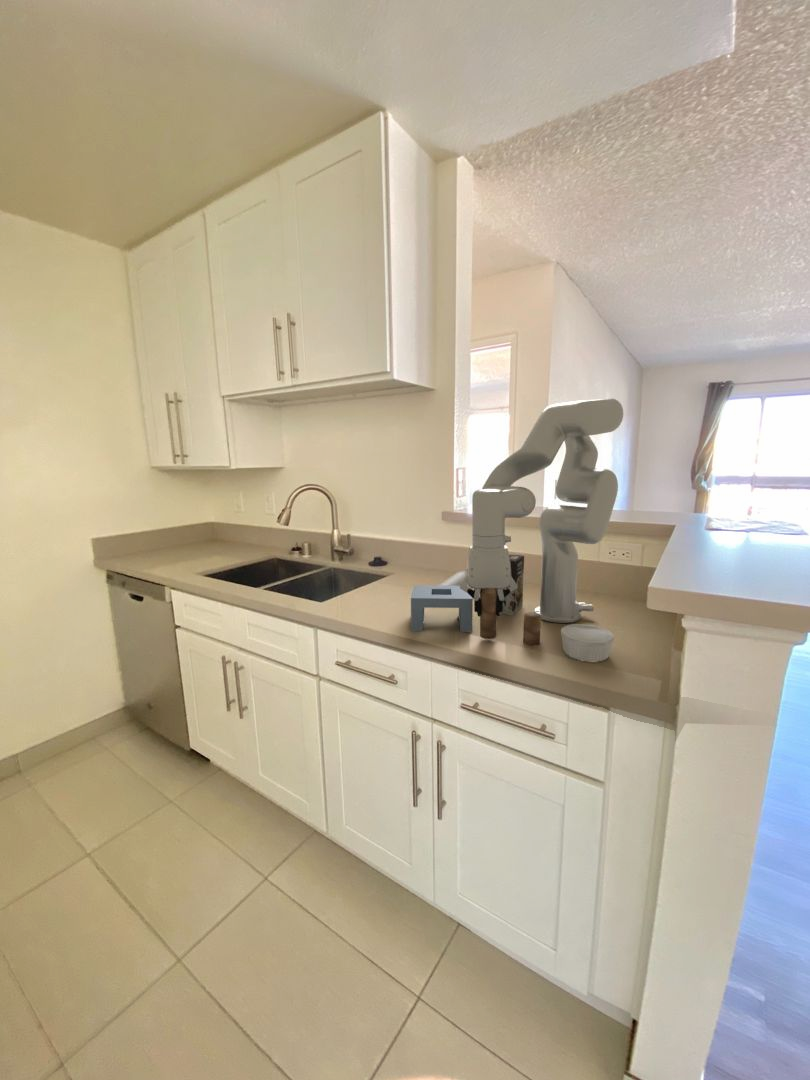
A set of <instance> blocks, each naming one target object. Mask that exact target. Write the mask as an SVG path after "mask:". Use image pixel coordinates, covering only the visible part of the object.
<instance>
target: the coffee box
mask: <svg viewBox="0 0 810 1080" xmlns="http://www.w3.org/2000/svg"><path fill="white" fill-rule="evenodd" d="M509 562H510V575H511V577H512V578H513V580H514V581H515V583H516V584H517V586H518V588H517V589H515V590H514V591H512V592H510V593H509V594H508V595H507V596H506V597H505V598H504V600H503V611H502V612H500V614H504V615H508V616H514V615H515V614H516V613H517V612H518V611H519V610H520V609H522V608H523V605H524V604H523V601H524V599H523V598H524V575H525V574H524V570H525V568H524V567H525V555H523V554H522V555H521V554H519V555H518V554H509ZM502 589H504V588H502ZM497 595H498V594H497Z"/></svg>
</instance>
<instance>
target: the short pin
mask: <svg viewBox="0 0 810 1080" xmlns="http://www.w3.org/2000/svg"><path fill="white" fill-rule="evenodd" d="M541 625H542V619H541V615H540V614H538V613H534V611H533V612H532V611H528V612H524V614H523V630H522V632H523V635H522V641H523V644H525V645H528V646H533V647H534V646H535V645H536V646H539V645H540V644H541V628H542V627H541ZM536 646H535V647H536Z"/></svg>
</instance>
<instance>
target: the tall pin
mask: <svg viewBox="0 0 810 1080" xmlns="http://www.w3.org/2000/svg"><path fill="white" fill-rule="evenodd" d="M479 597H480V600H481V616H479V637H480V638H482V639H486V640H493V639H496V638H497V623H498V622H497V621H498V620H497V617H498V616H497V589H494V588H484V589H481V590H480V595H479Z"/></svg>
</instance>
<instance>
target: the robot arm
mask: <svg viewBox="0 0 810 1080" xmlns="http://www.w3.org/2000/svg"><path fill="white" fill-rule="evenodd" d="M623 419H624V408H623V405H622V404H621V402H620V401H619V400H617V399H616V398H612V397H609V398H602V399H588V400H587V399H586V400H576V401H569V402H561V403H555V404H551V405H549V406H547V407H545V409H543V410H542V412H541V414H540V415H539V416H538V418H537V420H536V422H535V423H534V425H533V427H532V429H531V430H530V432H529V434H528V436H527V437H526V439H525V441H524V442H523V444H522V446H521V447H519V449H518V450H516V451H515V452H514V453H512V454H510V456H508V457H507V458H505V459H504V460H502V462H500V464H498V465H497V466H496V467H495V468H494V469H493V470H492V471H491V472H490V474H489V475H488V477H487V479H486V480H485V482H484V484H483V486H482V488H481V489H477V490H474V492H473V494H472V499H471V500H472V505H471V506H472V515H471V516H472V518H471V520H472V529H471V530H472V536H471V537H472V545H470V546H469V548H468V551H467V559H466V560H467V561H466V562H467V563H466V573H467V575H466V576H465V578H464V579H463V581H462V582H461V584H460V589H462V590H463V591H465V592H467V593H468V594H469V595H470V596H471V597H472V598H473V602H474V605H473V606H474V608H473V611H474V613H476V614H477V617H480V616H481V600H480V590H481V589H484V588H494V589H497V594H498V595H497V617H501V613H500V612H502V611H503V600H504V598H505V597H506V596H507V595H508V594H509V593H510V592H512V591H514V590H515V589H517V588H518V586H517V584H516V583H515V581H514V580H513V578H512V577H511V575H510V562H509V555H510V553H509V549H508V548H509V547H508V546H507V545H506V544H507V543H511V542H512V536H511V535H510V536H508V535H506V534H505V533H506V519H508V518H509V519H522V518H526V517H527V516H529V515H530V514H532V513H533V511H534V509H535V507H536V504H537V503H536V502H537V499H536V496H535V494H534V492H533V491H531V489H529V488H527V487H524V486H512V485H513V484H514V483H516V482H517V481H519V480H521V479H523V478H524V477H525V478H526V477H527V476H530V475H533V474H535V473H538V472H539V471H542V470H544V469H546V468H548V467H549V466H551V465H552V463H553V462H554V459H555V458H556V456H557V454H558V452H559V450H560V449H561V447H562V445H563V444H564V443H565V455H564V459H563V463H562V465H561V468H560V472H559V474H558V479H557V482H556V486H555V495H556V497H557V499H558V500H560V501H562V502H565V503H572V504H583V505H585V504H586V505H587V506H576V505H564V504H554V505H550V506H548V507H546V508H545V509H544V510H543V511H542V513H541V514H540V515H539V516H540V517H539V531H540V532H539V533H540V536H541V553H542V554H541V575H540V599H539V602H540V603H539V606H537V607H535V608H534V610H533V612H534V613H538V614H540V615H541V621H542V620H543V621H546V622H551V623H557V624H558V623H559V624H563V623H564V624H569V623H575V622H578V621H579V620H581V618H582V614H581V613H582V611H583V612H594V610H595V609H594V604H587V603H586V602H578V601H577V587H578V586H577V583H578V567H579V554H578V550H577V548H576V546H575V543H578V544H585V545H596V544H598V543H599V542H601V541H602V540H603V538H604V537H605V535H606V532H607V529H608V527H609V523H610V519H611V516H612V514H613V511H614V510H613V509H614V506H615V502H616V501H617V495H618V491H619V483H618V478H617V476H616V473H614V472H613V471H612V470H610V469H608V468H602V467H601V468H597V467H596V466H597V462H598V459H599V452H598V448H597V446H596V445H595V443H594V441H593V439H592V438H591V436H595V435H596V436H597V435H601V434H608V433H612V432H614V431H616V430H617V429H618V428H619V427H620V425H621V423H622V422H623ZM468 586H469V587H470V588H469V587H468ZM502 588H504V589H502Z"/></svg>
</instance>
